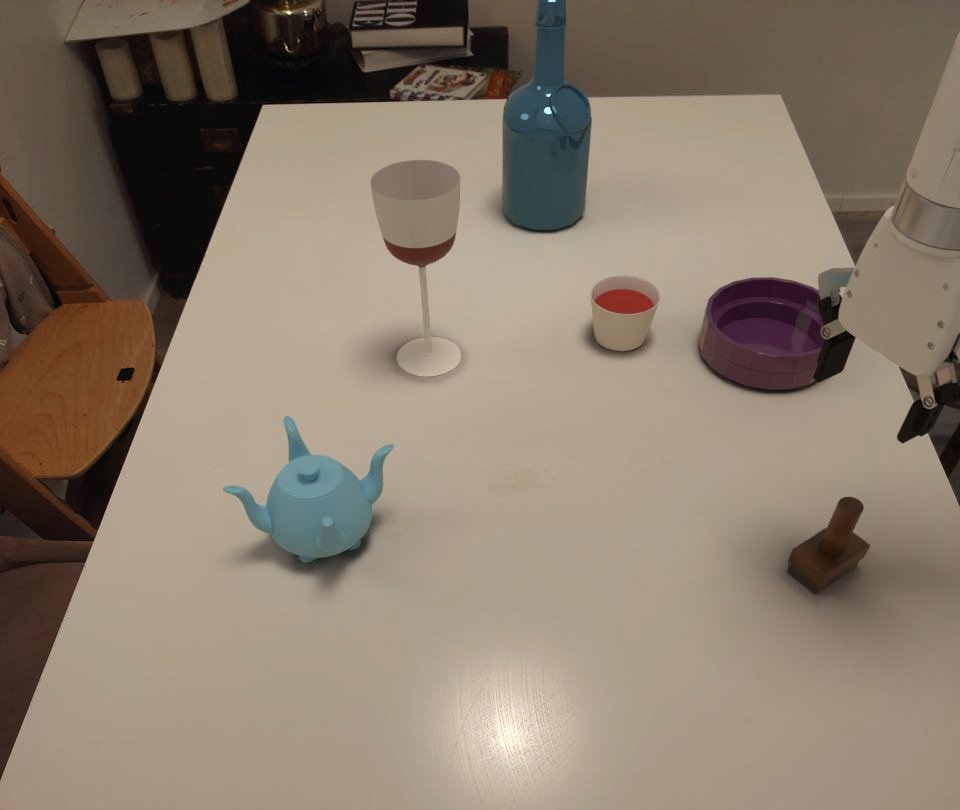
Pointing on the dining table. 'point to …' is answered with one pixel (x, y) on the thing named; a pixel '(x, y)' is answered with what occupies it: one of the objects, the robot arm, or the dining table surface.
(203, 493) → the dining table surface
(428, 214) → the wineglass
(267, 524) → the teapot
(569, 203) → the wine bottle
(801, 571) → the brush
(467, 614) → the dining table surface
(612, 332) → the candle
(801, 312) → the bowl
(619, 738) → the dining table surface
